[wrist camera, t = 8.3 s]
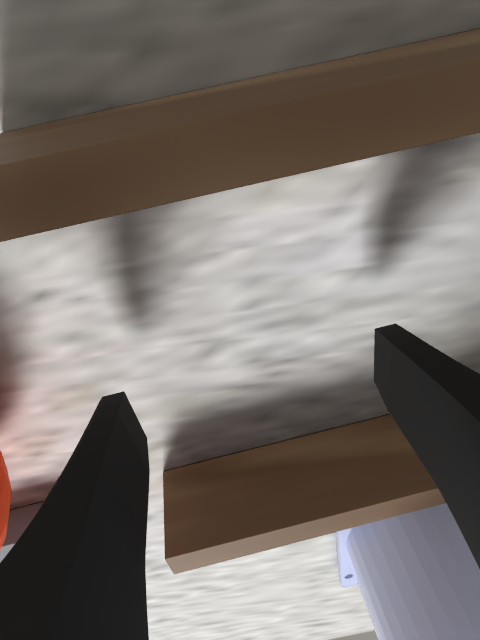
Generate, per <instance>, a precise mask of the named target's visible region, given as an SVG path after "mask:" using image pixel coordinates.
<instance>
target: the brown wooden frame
mask: <svg viewBox="0 0 480 640" xmlns="http://www.w3.org/2000/svg"><path fill="white" fill-rule="evenodd" d="M475 133H480V29H475V30H471V31H466V32H461V33H457V34H452V35H448V36H443V37H439V38H434V39H429V40H425V41H420V42H416V43H411V44H406V45H402V46H397V47H393V48H388V49H384V50H379V51H374V52H370V53H365V54H361V55H356V56H352V57H347V58H342V59H338V60H333V61H329V62H324V63H320V64H315V65H310V66H306V67H301V68H297V69H292V70H287V71H283V72H278V73H274V74H269V75H265V76H260V77H255V78H251V79H246V80H242V81H237V82H233V83H228V84H223V85H219V86H214V87H210V88H205V89H200V90H196V91H191V92H187V93H182V94H178V95H173V96H168V97H164V98H159V99H155V100H150V101H146V102H141V103H136V104H132V105H127V106H123V107H118V108H114V109H109V110H104V111H100V112H95V113H91V114H86V115H81V116H77V117H72V118H68V119H63V120H59V121H54V122H49V123H45V124H40V125H36V126H31V127H27V128H22V129H17V130H13V131H8V132H4V133H1V134H0V242H2V241H6V240H11V239H15V238H19V237H24V236H28V235H32V234H37V233H41V232H46V231H50V230H54V229H59V228H63V227H68V226H72V225H76V224H81V223H85V222H89V221H94V220H98V219H103V218H107V217H111V216H116V215H120V214H125V213H129V212H133V211H138V210H142V209H146V208H151V207H155V206H160V205H164V204H168V203H173V202H177V201H182V200H186V199H190V198H195V197H199V196H203V195H208V194H212V193H217V192H221V191H225V190H230V189H234V188H239V187H243V186H247V185H252V184H256V183H260V182H265V181H269V180H274V179H278V178H282V177H287V176H291V175H296V174H300V173H304V172H309V171H313V170H317V169H322V168H326V167H331V166H335V165H339V164H344V163H348V162H353V161H357V160H361V159H366V158H370V157H374V156H379V155H383V154H388V153H392V152H396V151H401V150H405V149H409V148H414V147H418V146H423V145H427V144H431V143H436V142H440V141H445V140H449V139H453V138H458V137H462V136H466V135H471V134H475ZM163 489H164V533H165V560H166V562H167V563H168V565H169V567H170V568H171V570H172V572H173V573H174V574H177V573H181V572H185V571H189V570H193V569H196V568H200V567H204V566H208V565H212V564H216V563H219V562H223V561H227V560H231V559H235V558H238V557H242V556H246V555H250V554H254V553H258V552H261V551H265V550H269V549H273V548H277V547H281V546H284V545H288V544H292V543H296V542H300V541H303V540H307V539H311V538H315V537H319V536H323V535H326V534H330V533H334V532H338V531H342V530H345V529H349V528H353V527H357V526H361V525H365V524H368V523H372V522H376V521H380V520H384V519H388V518H391V517H395V516H399V515H403V514H407V513H410V512H414V511H418V510H422V509H426V508H430V507H433V506H437V505H441V504H445V503H446V502H445V500H444V498H443V496H442V494H441V492H440V490H439V489H438V487H437V485H436V484H435V482H434V480H433V479H432V477H431V476H430V474H429V473H428V471H427V469H426V468H425V466H424V465H423V463H422V462H421V460H420V459H419V457H418V456H417V454H416V453H415V451H414V450H413V448H412V446H411V445H410V443H409V442H408V440H407V439H406V437H405V436H404V434H403V433H402V431H401V430H400V428H399V426H398V425H397V423H396V422H395V420H394V419H393V417H392V416H391V414H390V415H386V416H382V417H378V418H374V419H370V420H366V421H362V422H358V423H354V424H350V425H346V426H342V427H338V428H334V429H330V430H326V431H322V432H318V433H314V434H310V435H306V436H302V437H298V438H295V439H291V440H287V441H283V442H279V443H275V444H271V445H267V446H263V447H259V448H255V449H251V450H247V451H243V452H239V453H235V454H231V455H227V456H223V457H219V458H215V459H211V460H207V461H203V462H199V463H195V464H191V465H187V466H183V467H180V468H176V469H172V470H168V471H164V472H163Z"/></svg>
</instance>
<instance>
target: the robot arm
mask: <svg viewBox="0 0 480 640" xmlns="http://www.w3.org/2000/svg"><path fill="white" fill-rule="evenodd" d="M374 382H375V384H376V386H377V388H378V390H379V392H380V394H381V397H382V399H383V401H384V403H385V405H386V407H387V409H388V411H389V412H390V414H391V416H392V417H393V419H394V420H395V422H396V423H397V425H398V426H399V428H400V430H401V431H402V433H403V434H404V436H405V437H406V439H407V440H408V442H409V443H410V445H411V446H412V448H413V450H414V451H415V453H416V454H417V456H418V457H419V459H420V460H421V462H422V463H423V465H424V466H425V468H426V469H427V471H428V473H429V474H430V476H431V477H432V479H433V480H434V482H435V484H436V485H437V487H438V489H439V490H440V492H441V494H442V496H443V498H444V500H445V502H446V503H445V504H441V505H437V506H433V507H430V508H426V509H422V510H418V511H414V512H410V513H407V514H403V515H399V516H395V517H391V518H388V519H384V520H380V521H376V522H372V523H368V524H365V525H361V526H357V527H353V528H349V529H345V530H342V531H338V532H336V539H337V554H338V569H339V581H340V584H341V586H342V587H350V586H354V585H359V588H360V590H361V593H362V596H363V599H364V601H365V604H366V607H367V610H368V612H369V615H370V618H371V621H372V623H373V626H374V629H375V631H376V634H377V637H378V640H480V374H478V373H477V372H475V371H473V370H471V369H469V368H467V367H466V366H464V365H462V364H460V363H459V362H457V361H455V360H454V359H452V358H450V357H449V356H447V355H445V354H444V353H442V352H440V351H439V350H437V349H435V348H434V347H432V346H431V345H429V344H427V343H426V342H424V341H423V340H421V339H419V338H418V337H416V336H415V335H413V334H412V333H410V332H408V331H407V330H405V329H404V328H402V327H400V326H399V325H397V324H392V325H388V326H384V327H380V328H376V329H375V347H374ZM148 494H149V457H148V445H147V437H146V435H145V433H144V431H143V429H142V427H141V425H140V423H139V421H138V419H137V417H136V415H135V413H134V411H133V409H132V407H131V405H130V402H129V400H128V398H127V396H126V394H125V392H120V393H116V394H112V395H108V396H104V397H102V399H101V400H100V402H99V404H98V406H97V408H96V410H95V412H94V414H93V416H92V418H91V420H90V422H89V424H88V426H87V428H86V429H85V431H84V433H83V435H82V437H81V439H80V441H79V443H78V445H77V447H76V448H75V450H74V452H73V454H72V456H71V458H70V459H69V461H68V463H67V465H66V467H65V468H64V470H63V472H62V473H61V475H60V477H59V478H58V480H57V482H56V483H55V485H54V487H53V488H52V490H51V492H50V493H49V495H48V496H47V498H46V500H45V501H44V503H43V504H42V506H41V507H40V509H39V510H38V512H37V514H36V515H35V516H34V518H33V519H32V521H31V522H30V524H29V525H28V527H27V528H26V529H25V531H24V532H23V534H22V535H21V536H20V538H19V539H18V541H17V542H16V543H15V545H14V546H13V547H12V549H11V550H10V551H9V552H8V554H7V555H6V556H5V558H4V559H3V560H2V561H1V563H0V640H149V638H148V621H147V602H146V579H145V550H146V532H147V513H148Z"/></svg>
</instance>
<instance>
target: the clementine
mask: <svg viewBox="0 0 480 640" xmlns="http://www.w3.org/2000/svg"><path fill="white" fill-rule="evenodd" d="M11 495H12V491H11V486H10V481H9V476H8V471H7V467H6V465H5V462H4V459H3V456H2V453H1V451H0V550H1V547H2V545H3V543H4V541H5V538H6V532H7V525H8V518H9V510H10V503H11Z"/></svg>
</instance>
